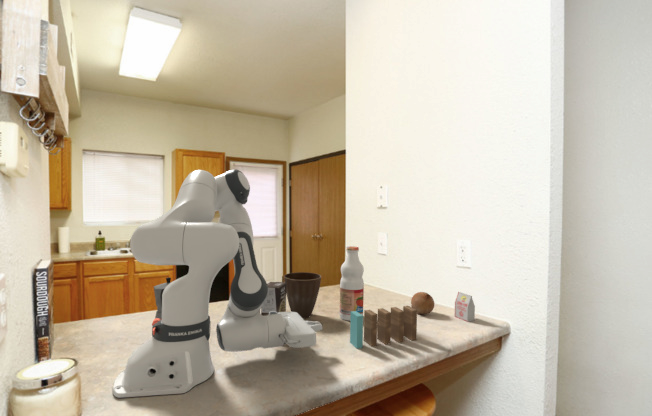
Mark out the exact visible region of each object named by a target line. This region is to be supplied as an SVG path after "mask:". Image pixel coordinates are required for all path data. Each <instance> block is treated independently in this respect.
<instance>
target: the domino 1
mask: <svg viewBox="0 0 652 416" xmlns="http://www.w3.org/2000/svg"><path fill="white" fill-rule="evenodd" d="M377 323H378V313H376V312H375V311H373V310H371V309H363V342H364V343H366V344H367V345H368V346H370V347H371V348H373V347H377V344H378V339H377Z"/></svg>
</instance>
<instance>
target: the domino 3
mask: <svg viewBox="0 0 652 416" xmlns="http://www.w3.org/2000/svg"><path fill="white" fill-rule="evenodd" d="M390 312H391V339H392V340H394V341H395V342H397V343H404V341H405V338H404V337H405V336H404V311H403V309H400V308H399V307H397V306H393V307H392V306H391V307H390Z"/></svg>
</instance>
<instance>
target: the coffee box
mask: <svg viewBox="0 0 652 416" xmlns="http://www.w3.org/2000/svg"><path fill="white" fill-rule="evenodd" d="M267 286H268V293H267V296H266V298H265V300H264V302H263V304H262V307H261V309H260V313H261V315H262V316H267V315H268V314H269V312H270V311H276V312H277V313H278V312H287V294H286V282H285V281H269V282H268V283H267Z"/></svg>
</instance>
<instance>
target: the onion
mask: <svg viewBox="0 0 652 416" xmlns="http://www.w3.org/2000/svg"><path fill="white" fill-rule="evenodd" d="M410 300H411V301H410V304H411V306H410V307H412V308H414V309H416V310H417V314H418V315H429V314H431V313H432V312H433V311H434V308H435V301H434V298H433V296H431V294H429V293H428V292H425V291H419V292H416V293H414V294H413V295H412V297H411V299H410Z"/></svg>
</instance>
